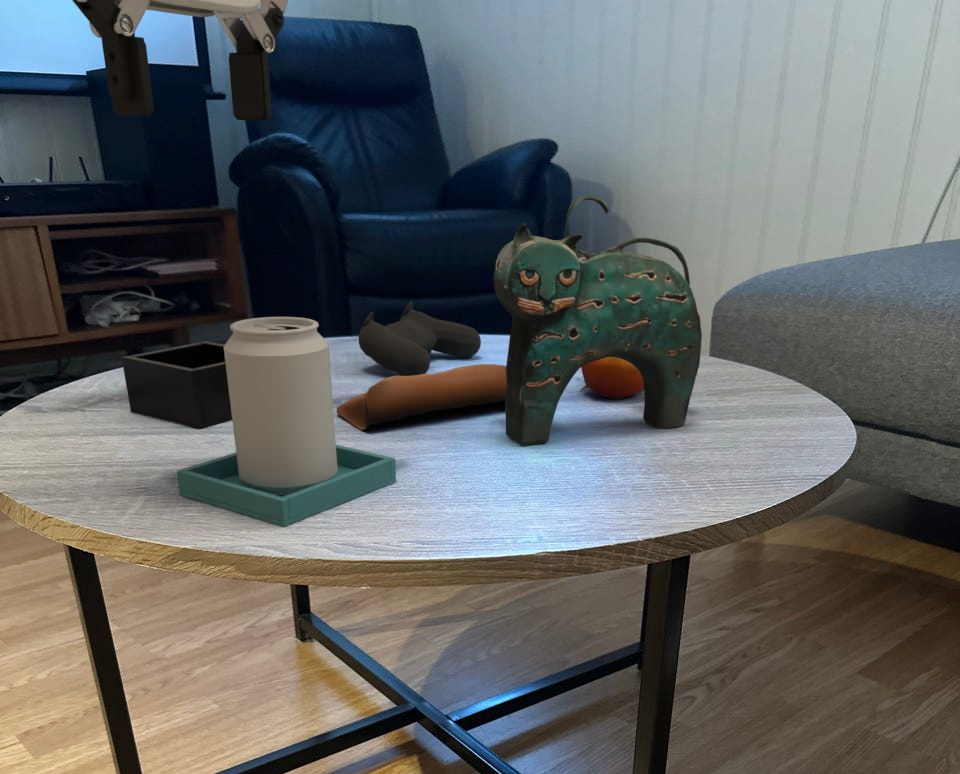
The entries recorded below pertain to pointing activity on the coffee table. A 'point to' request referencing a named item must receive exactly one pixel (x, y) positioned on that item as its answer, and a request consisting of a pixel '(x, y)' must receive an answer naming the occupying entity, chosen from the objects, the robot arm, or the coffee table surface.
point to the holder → (180, 384)
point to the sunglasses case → (425, 394)
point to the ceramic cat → (593, 325)
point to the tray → (231, 492)
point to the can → (281, 403)
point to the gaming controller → (415, 341)
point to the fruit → (612, 378)
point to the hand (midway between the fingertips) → (196, 117)
